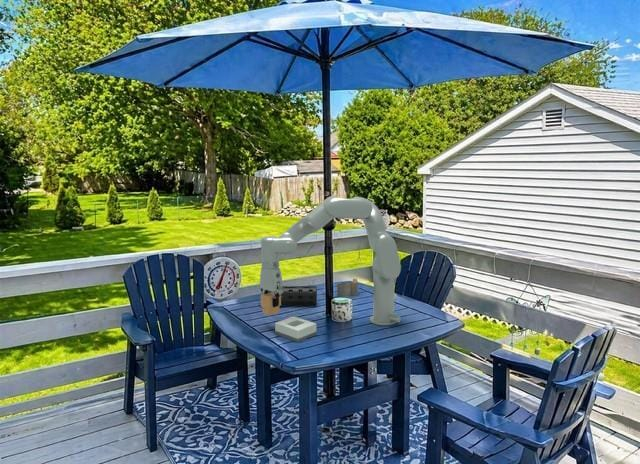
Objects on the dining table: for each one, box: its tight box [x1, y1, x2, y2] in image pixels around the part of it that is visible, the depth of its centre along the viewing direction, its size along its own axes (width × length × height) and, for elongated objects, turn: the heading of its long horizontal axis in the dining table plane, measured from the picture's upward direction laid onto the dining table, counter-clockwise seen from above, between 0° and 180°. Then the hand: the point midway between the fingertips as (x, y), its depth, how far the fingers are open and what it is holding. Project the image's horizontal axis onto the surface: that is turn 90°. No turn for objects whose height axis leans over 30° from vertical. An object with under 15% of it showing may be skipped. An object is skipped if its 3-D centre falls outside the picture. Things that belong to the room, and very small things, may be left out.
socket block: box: [274, 315, 317, 343], centre depth 199 cm, size 14×11×5 cm
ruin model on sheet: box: [336, 278, 359, 298], centre depth 253 cm, size 11×3×10 cm, turn 96°
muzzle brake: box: [260, 285, 318, 306], centre depth 238 cm, size 10×28×10 cm, turn 89°
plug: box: [260, 292, 282, 316], centre depth 204 cm, size 6×7×8 cm
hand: (271, 304), depth 204 cm, fingers closed on plug, 5 cm apart
